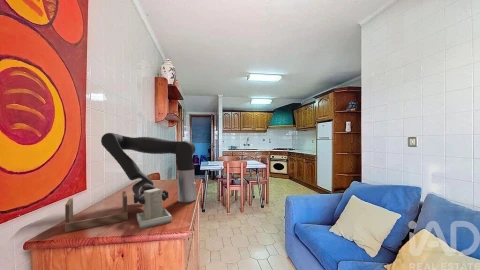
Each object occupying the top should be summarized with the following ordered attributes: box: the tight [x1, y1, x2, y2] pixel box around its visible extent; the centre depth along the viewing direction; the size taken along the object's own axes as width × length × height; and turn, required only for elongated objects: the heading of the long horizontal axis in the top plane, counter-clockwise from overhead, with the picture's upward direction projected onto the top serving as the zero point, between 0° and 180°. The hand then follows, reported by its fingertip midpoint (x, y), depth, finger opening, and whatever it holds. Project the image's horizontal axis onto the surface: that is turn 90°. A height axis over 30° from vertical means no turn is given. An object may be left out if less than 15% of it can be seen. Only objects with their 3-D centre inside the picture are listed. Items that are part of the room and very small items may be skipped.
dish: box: [136, 208, 173, 230], centre depth 92 cm, size 12×12×2 cm
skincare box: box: [143, 187, 163, 220], centre depth 93 cm, size 6×4×12 cm
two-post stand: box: [64, 191, 129, 233], centre depth 93 cm, size 21×12×10 cm, turn 122°
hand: (154, 200), depth 92 cm, fingers open, 8 cm apart
